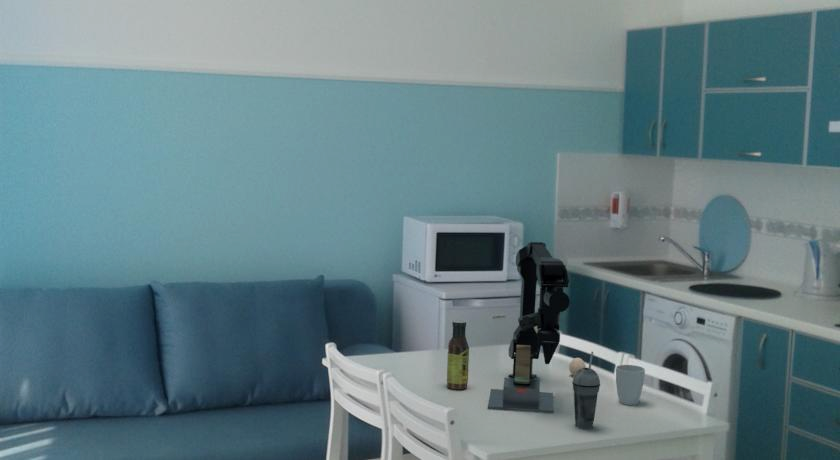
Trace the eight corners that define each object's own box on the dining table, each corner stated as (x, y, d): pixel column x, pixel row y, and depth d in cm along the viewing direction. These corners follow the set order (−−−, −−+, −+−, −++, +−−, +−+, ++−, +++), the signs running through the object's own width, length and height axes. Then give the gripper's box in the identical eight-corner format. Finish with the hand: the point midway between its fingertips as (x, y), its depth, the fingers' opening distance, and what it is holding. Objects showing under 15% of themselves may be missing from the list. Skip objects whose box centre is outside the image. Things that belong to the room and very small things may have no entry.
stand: (490, 391, 294) (491, 373, 293) (552, 395, 292) (553, 377, 291) (487, 409, 276) (488, 389, 275) (553, 413, 274) (554, 393, 273)
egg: (573, 378, 311) (574, 360, 311) (565, 374, 316) (566, 356, 315) (588, 377, 313) (589, 359, 312) (580, 373, 318) (581, 355, 317)
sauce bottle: (465, 391, 293) (468, 324, 291) (444, 389, 294) (447, 322, 292) (469, 385, 300) (471, 320, 297) (448, 384, 301) (450, 318, 299)
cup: (644, 400, 290) (646, 366, 288) (641, 408, 282) (643, 373, 281) (616, 397, 292) (618, 363, 291) (612, 404, 285) (614, 369, 283)
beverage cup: (567, 422, 267) (570, 348, 264) (594, 422, 267) (598, 348, 265) (573, 430, 259) (577, 354, 257) (601, 430, 260) (605, 355, 258)
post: (514, 379, 286) (516, 344, 284) (529, 380, 285) (530, 345, 284) (514, 383, 281) (516, 348, 280) (529, 383, 281) (530, 348, 280)
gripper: (521, 298, 290) (519, 351, 292) (519, 310, 272) (517, 366, 273) (560, 300, 289) (557, 353, 291) (561, 312, 270) (558, 369, 272)
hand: (546, 360), depth 282 cm, fingers open, 9 cm apart
